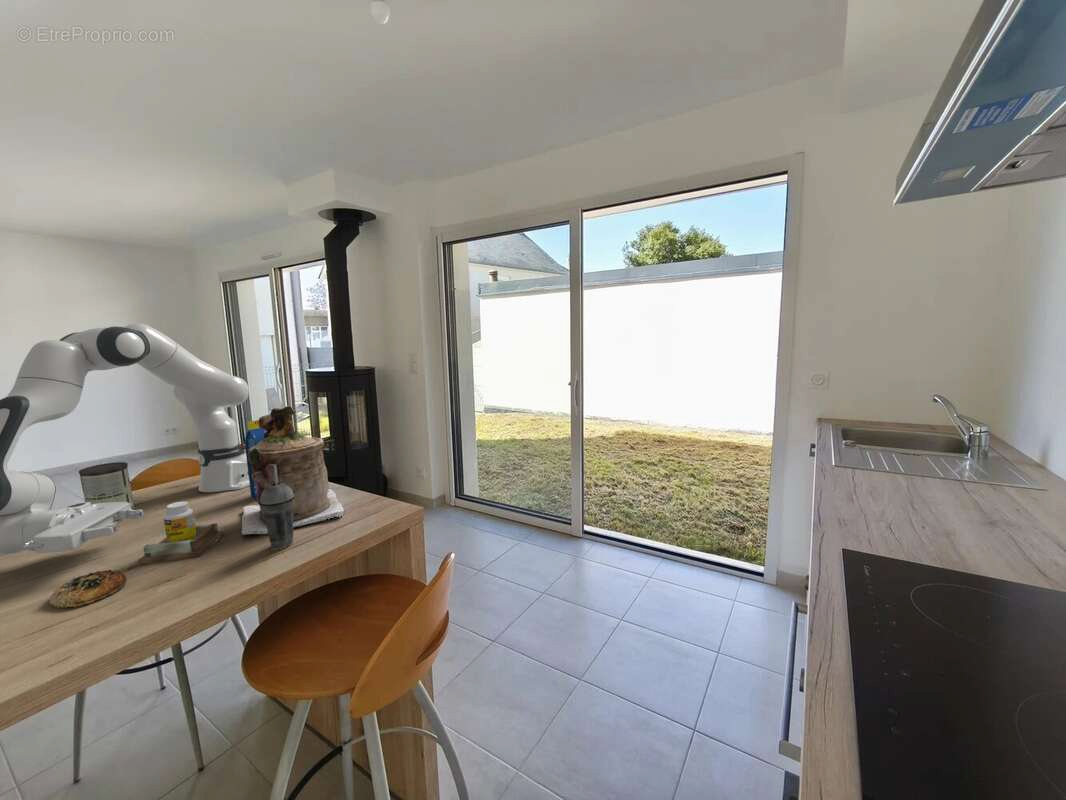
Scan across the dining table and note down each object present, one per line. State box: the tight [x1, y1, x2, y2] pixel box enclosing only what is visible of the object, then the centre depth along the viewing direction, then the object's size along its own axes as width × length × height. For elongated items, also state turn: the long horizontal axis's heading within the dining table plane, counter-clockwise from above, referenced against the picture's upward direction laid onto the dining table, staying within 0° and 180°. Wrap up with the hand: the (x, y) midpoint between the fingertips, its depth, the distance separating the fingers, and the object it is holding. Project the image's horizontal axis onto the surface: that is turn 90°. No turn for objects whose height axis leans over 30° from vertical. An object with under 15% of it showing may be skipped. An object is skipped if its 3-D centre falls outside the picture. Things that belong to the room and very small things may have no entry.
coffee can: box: [78, 461, 135, 510], centre depth 128 cm, size 10×10×14 cm
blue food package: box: [244, 419, 267, 499], centre depth 141 cm, size 6×12×25 cm, turn 152°
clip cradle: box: [138, 522, 225, 564], centre depth 104 cm, size 12×12×4 cm
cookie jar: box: [241, 405, 345, 536], centre depth 122 cm, size 25×25×32 cm
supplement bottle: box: [163, 501, 197, 543], centre depth 104 cm, size 6×6×10 cm
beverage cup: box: [260, 464, 295, 550], centre depth 103 cm, size 7×7×20 cm
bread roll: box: [49, 569, 127, 609], centre depth 86 cm, size 11×11×5 cm
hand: (128, 521), depth 101 cm, fingers open, 8 cm apart
